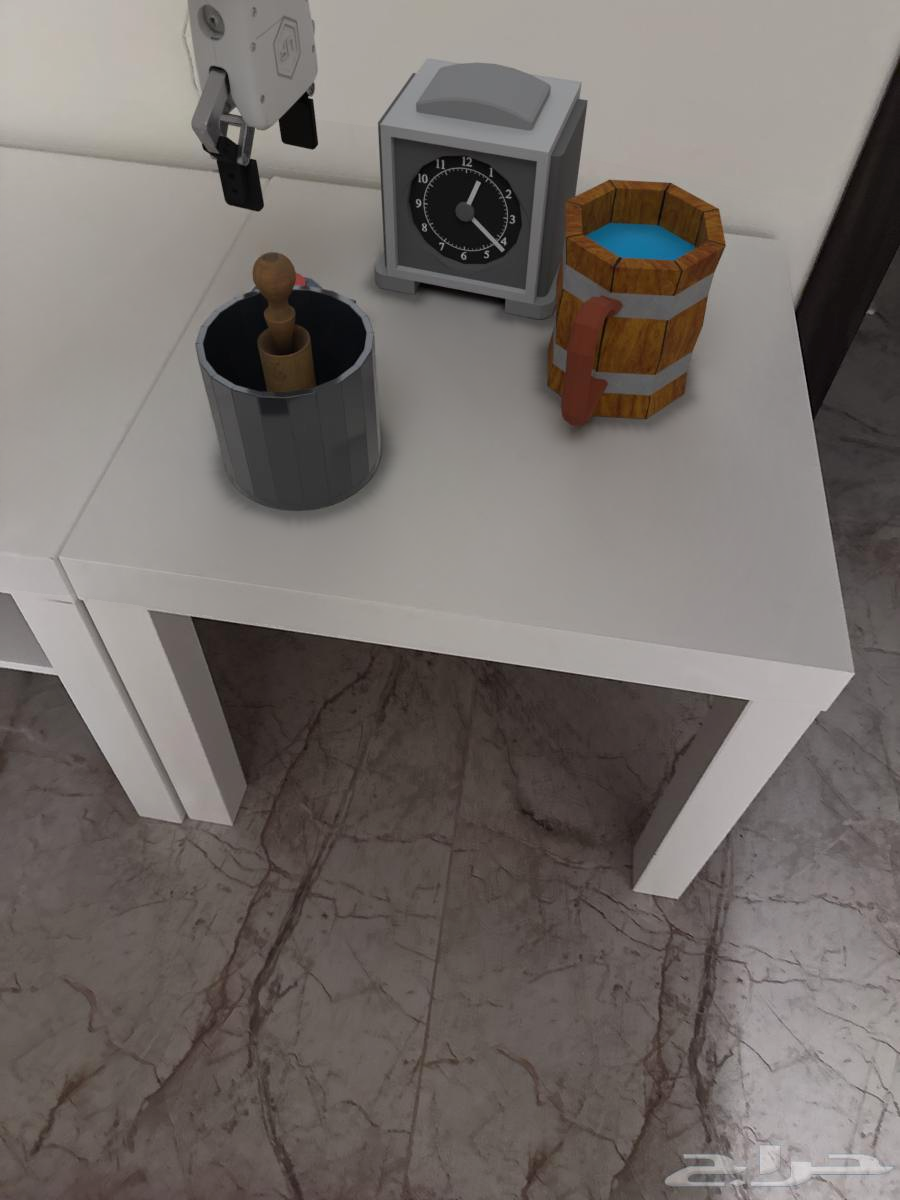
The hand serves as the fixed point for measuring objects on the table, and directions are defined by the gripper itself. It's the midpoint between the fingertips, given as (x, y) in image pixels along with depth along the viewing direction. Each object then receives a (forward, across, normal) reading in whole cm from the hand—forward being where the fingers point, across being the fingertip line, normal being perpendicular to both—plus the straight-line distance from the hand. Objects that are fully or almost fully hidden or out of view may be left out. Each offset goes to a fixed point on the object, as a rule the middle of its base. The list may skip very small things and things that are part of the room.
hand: (273, 174), depth 75 cm
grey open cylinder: (+16, -14, -7) cm, 22 cm away
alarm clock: (+17, +17, -12) cm, 27 cm away
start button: (+13, 0, +1) cm, 13 cm away
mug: (+16, +3, -29) cm, 34 cm away
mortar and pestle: (+15, -14, -7) cm, 22 cm away
